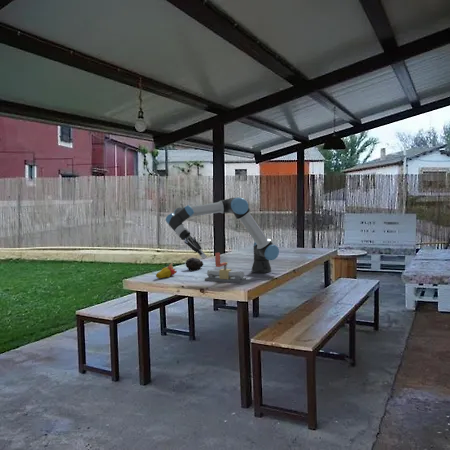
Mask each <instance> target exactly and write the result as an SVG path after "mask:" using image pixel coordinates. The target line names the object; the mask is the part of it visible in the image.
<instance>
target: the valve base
mask: <svg viewBox="0 0 450 450" xmlns="http://www.w3.org/2000/svg"><path fill="white" fill-rule="evenodd" d="M227 265H228V264H227ZM227 265H224V266H223V268H221V269H219V270H213V269H211V270H210V269H209V270H207V272H206V274H207V276H208V277H204V281H205V282H218V283H219V282H220V283H233V284H235V283H237V284H241V283H243V282H245V281H247V277H245V273H244V271H236V270H235V271H232V269H231V268H228V267H227Z"/></svg>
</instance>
